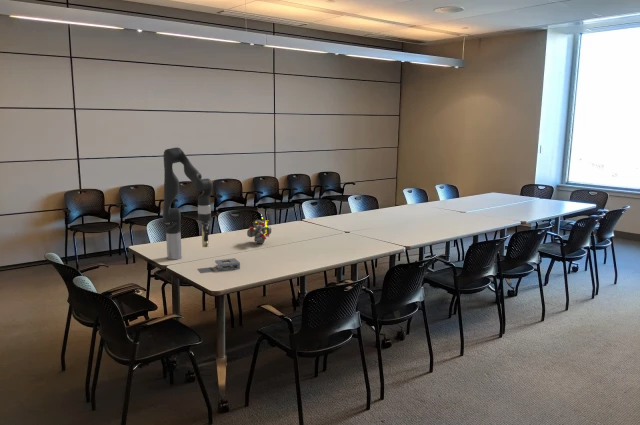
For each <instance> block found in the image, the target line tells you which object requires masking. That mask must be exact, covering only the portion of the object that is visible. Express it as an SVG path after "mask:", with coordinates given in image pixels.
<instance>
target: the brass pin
mask: <svg viewBox="0 0 640 425" xmlns="http://www.w3.org/2000/svg"><path fill="white" fill-rule="evenodd" d="M204 230H205V229H204ZM206 233H207V232H206ZM201 240H202V241H201V242H202V243H201V244H202V248H209V240H208V241H206V242H205V241H204V232H203V228H202V232H201Z"/></svg>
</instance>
